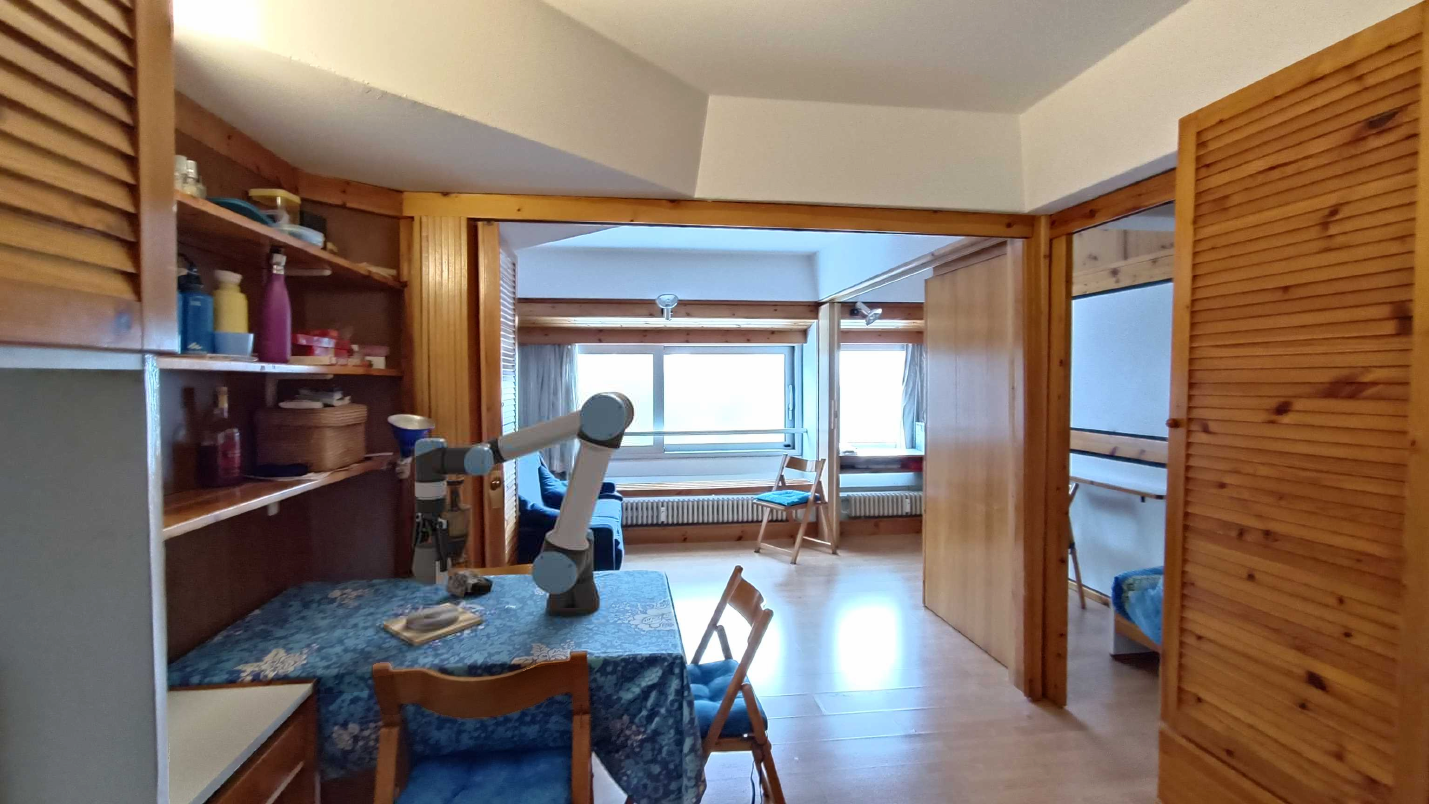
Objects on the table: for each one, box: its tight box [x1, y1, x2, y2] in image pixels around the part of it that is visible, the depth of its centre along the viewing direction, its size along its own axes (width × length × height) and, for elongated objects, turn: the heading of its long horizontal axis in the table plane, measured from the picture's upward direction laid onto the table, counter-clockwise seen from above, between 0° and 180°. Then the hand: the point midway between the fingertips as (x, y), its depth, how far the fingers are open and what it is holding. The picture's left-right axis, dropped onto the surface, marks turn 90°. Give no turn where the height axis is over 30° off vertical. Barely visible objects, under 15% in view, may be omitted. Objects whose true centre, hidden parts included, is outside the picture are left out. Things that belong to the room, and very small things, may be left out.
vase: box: [441, 477, 472, 565], centre depth 214 cm, size 11×11×30 cm
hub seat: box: [382, 602, 484, 647], centre depth 160 cm, size 18×18×3 cm
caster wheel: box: [444, 569, 494, 598], centre depth 184 cm, size 7×11×10 cm
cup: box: [411, 540, 452, 586], centre depth 159 cm, size 10×9×10 cm
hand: (432, 579), depth 159 cm, fingers closed on cup, 9 cm apart
